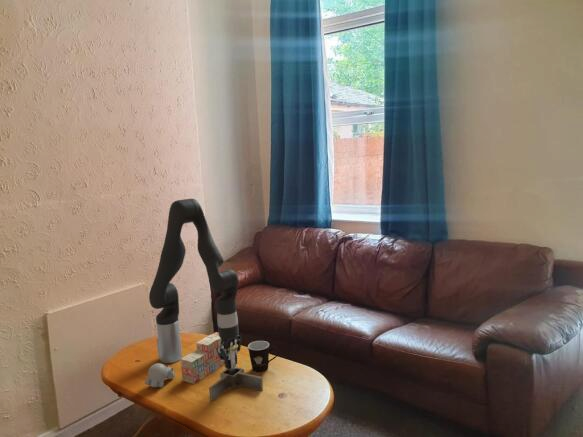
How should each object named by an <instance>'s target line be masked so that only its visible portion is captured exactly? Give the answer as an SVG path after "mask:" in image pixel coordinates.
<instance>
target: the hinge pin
mask: <svg viewBox="0 0 583 437" xmlns="http://www.w3.org/2000/svg"><path fill="white" fill-rule="evenodd" d="M237 347H238V344H236V345H233V346H232V347H231V348H230V351H232V353H231V357H230V359H231V369H228V374H230V375H234V374H236V367H237V364H236V361H235V349H236V348H237ZM224 350H225V351H229V348H228V350H226V349H224ZM226 356H228V354H226Z"/></svg>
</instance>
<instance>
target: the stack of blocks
mask: <svg viewBox="0 0 583 437" xmlns="http://www.w3.org/2000/svg"><path fill="white" fill-rule="evenodd" d="M195 345H196V350H194V351H192V352H191V353H189V354H187V355H185V356H182V358H181V359H180V364H181V365H180V366H181V367H180V368H181V376H182V381H183V382H186V383H189V384H192V385H193V384H194V385H195V384H196V383H198V382H199V381H201V380H202V379H204V378H205V377H208V376H209V375H210V374H212V373H214V372H215V371H216V370H218V369H219V368H221V367H222V366H225V360H221V359H220V357H219V355H218V353H217V351H216V348H217V347H218V348H219V347H220V345H221V338H220V337H219V333H218V332H217V331H216V332H214V333H211V334H209V335H208V336H206V337H204V338H202V339H201V340H199V341H197V342H196V343H195Z"/></svg>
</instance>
